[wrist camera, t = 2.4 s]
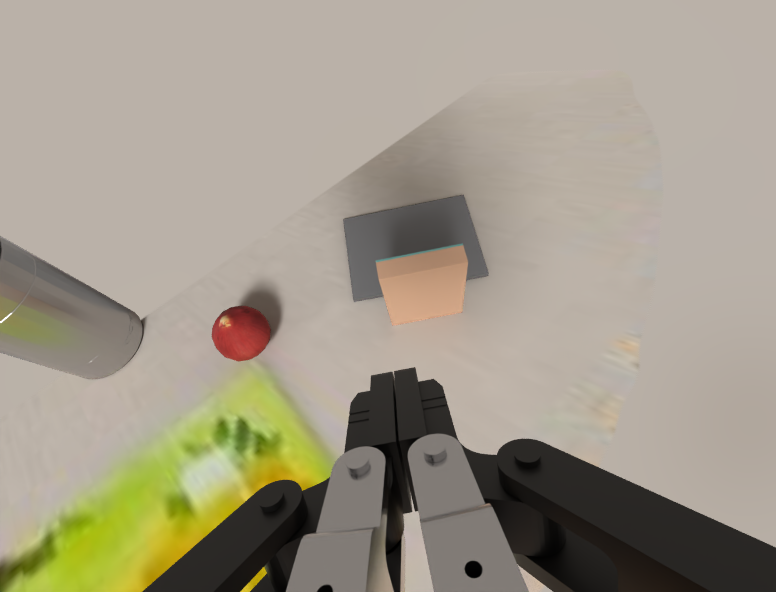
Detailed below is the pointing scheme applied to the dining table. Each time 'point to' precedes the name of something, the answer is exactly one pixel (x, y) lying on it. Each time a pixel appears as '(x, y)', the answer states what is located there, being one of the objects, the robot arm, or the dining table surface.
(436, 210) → the mat
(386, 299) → the tan flat block
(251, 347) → the onion
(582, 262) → the dining table surface
